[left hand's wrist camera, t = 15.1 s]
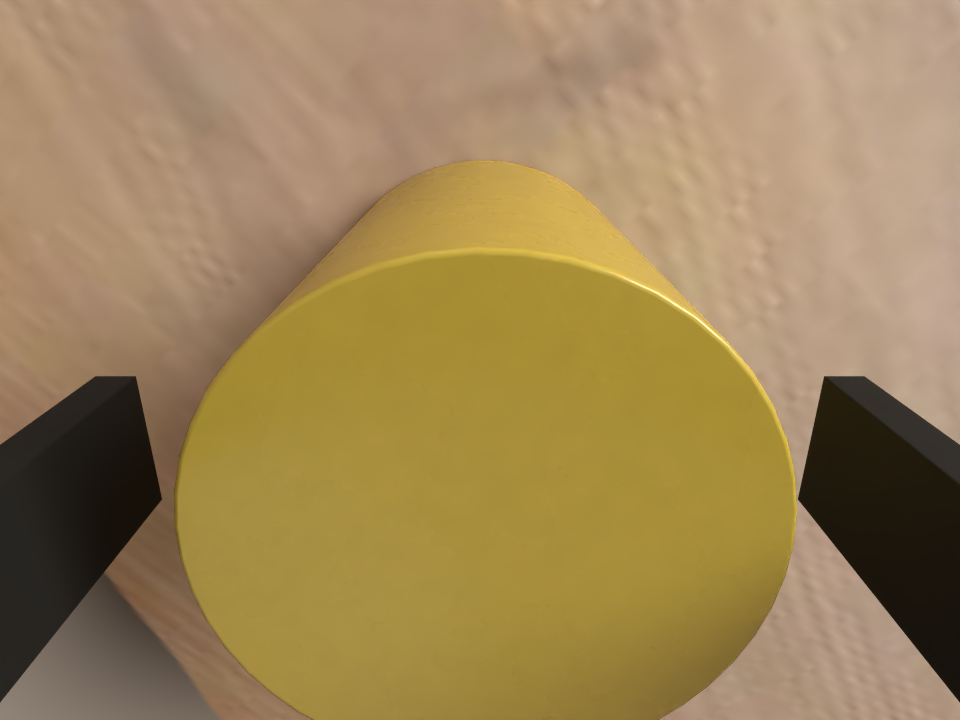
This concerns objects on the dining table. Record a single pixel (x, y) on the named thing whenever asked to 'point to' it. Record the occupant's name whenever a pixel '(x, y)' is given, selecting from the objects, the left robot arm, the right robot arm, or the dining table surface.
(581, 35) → the dining table surface
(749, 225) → the dining table surface
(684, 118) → the dining table surface
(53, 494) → the left robot arm
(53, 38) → the dining table surface
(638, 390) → the tin
